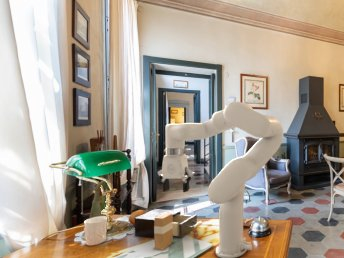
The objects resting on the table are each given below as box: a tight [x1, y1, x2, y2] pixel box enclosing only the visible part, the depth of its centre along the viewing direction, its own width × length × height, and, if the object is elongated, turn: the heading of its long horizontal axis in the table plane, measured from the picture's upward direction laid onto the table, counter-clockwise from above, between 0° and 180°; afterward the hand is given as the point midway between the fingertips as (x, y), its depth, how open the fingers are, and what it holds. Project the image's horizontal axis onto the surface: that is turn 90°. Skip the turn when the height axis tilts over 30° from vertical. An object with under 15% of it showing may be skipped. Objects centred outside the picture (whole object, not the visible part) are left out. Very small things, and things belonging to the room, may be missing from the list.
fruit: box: [128, 209, 147, 226], centre depth 123 cm, size 8×8×8 cm
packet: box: [153, 213, 174, 251], centre depth 100 cm, size 4×6×13 cm
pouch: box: [88, 178, 108, 222], centre depth 115 cm, size 11×12×25 cm
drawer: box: [173, 214, 203, 239], centre depth 111 cm, size 18×12×6 cm, turn 78°
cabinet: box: [134, 208, 182, 239], centre depth 114 cm, size 15×13×8 cm
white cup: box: [83, 216, 108, 246], centre depth 103 cm, size 8×8×10 cm
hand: (176, 191), depth 102 cm, fingers open, 9 cm apart
